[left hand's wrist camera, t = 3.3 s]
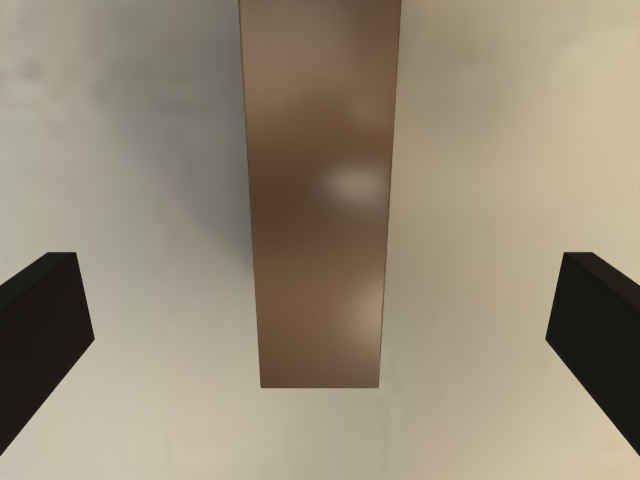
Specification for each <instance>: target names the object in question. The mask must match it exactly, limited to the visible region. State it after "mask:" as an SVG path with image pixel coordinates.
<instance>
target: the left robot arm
mask: <svg viewBox="0 0 640 480" xmlns="http://www.w3.org/2000/svg"><path fill="white" fill-rule="evenodd" d="M94 340H95V338H94V333H93V329H92V324H91V319H90V315H89V310H88V305H87V301H86V296H85V291H84V287H83V282H82V278H81V273H80V268H79V264H78V259H77V254H76V252H47V253H46V254H44V255H43V256H42V257H40V258H39V259H37V260H36V261H35V262H33V263H32V264H30V265H29V266H27V267H26V268H25V269H23V270H22V271H20V272H19V273H17V274H16V275H15V276H13V277H12V278H10V279H9V280H7V281H6V282H5V283H3V284H2V285H0V456H1V455H2V453H3V452H4V451H5V450H6V449H7V447H8V446H9V445H10V444H11V442H12V441H13V440H14V439H15V437H16V436H17V435H18V434H19V432H20V431H21V430H22V429H23V428H24V426H25V425H26V424H27V423H28V421H29V420H30V419H31V418H32V416H33V415H34V414H35V413H36V411H37V410H38V409H39V408H40V406H41V405H42V404H43V403H44V402H45V400H46V399H47V398H48V397H49V395H50V394H51V393H52V392H53V390H54V389H55V388H56V387H57V385H58V384H59V383H60V382H61V381H62V379H63V378H64V377H65V376H66V374H67V373H68V372H69V371H70V369H71V368H72V367H73V366H74V364H75V363H76V362H77V361H78V359H79V358H80V357H81V356H82V355H83V353H84V352H85V351H86V350H87V348H88V347H89V346H90V345H91V343H92V342H93V341H94ZM545 340H546V341H547V342H548V343H549V345H550V346H551V347H552V348H553V350H554V351H555V352H556V353H557V355H558V356H559V357H560V358H561V359H562V361H563V362H564V363H565V364H566V366H567V367H568V368H569V369H570V371H571V372H572V373H573V374H574V376H575V377H576V378H577V379H578V381H579V382H580V383H581V384H582V385H583V387H584V388H585V389H586V390H587V392H588V393H589V394H590V395H591V397H592V398H593V399H594V400H595V402H596V403H597V404H598V405H599V406H600V408H601V409H602V410H603V411H604V413H605V414H606V415H607V416H608V418H609V419H610V420H611V421H612V423H613V424H614V425H615V426H616V428H617V429H618V430H619V431H620V432H621V434H622V435H623V436H624V437H625V439H626V440H627V441H628V442H629V444H630V445H631V446H632V447H633V449H634V450H635V451H636V452H637V453H638V455H639V456H640V285H638V284H637V283H635V282H634V281H633V280H631V279H630V278H628V277H627V276H625V275H624V274H623V273H621V272H620V271H618V270H617V269H615V268H614V267H613V266H611V265H610V264H608V263H607V262H605V261H604V260H603V259H601V258H600V257H598V256H597V255H596V254H594V253H593V252H564V254H563V259H562V264H561V268H560V273H559V278H558V282H557V287H556V291H555V296H554V301H553V305H552V310H551V315H550V319H549V324H548V329H547V333H546V338H545Z"/></svg>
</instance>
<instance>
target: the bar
mask: <svg viewBox="0 0 640 480" xmlns="http://www.w3.org/2000/svg"><path fill="white" fill-rule="evenodd" d="M238 4H239V22H240V39H241V56H242V73H243V91H244V108H245V125H246V143H247V160H248V177H249V195H250V212H251V229H252V246H253V264H254V281H255V298H256V316H257V333H258V350H259V368H260V385H261V388H378V387H379V373H380V356H381V339H382V322H383V305H384V288H385V271H386V254H387V237H388V220H389V203H390V186H391V169H392V152H393V135H394V118H395V101H396V84H397V67H398V50H399V33H400V16H401V0H238Z"/></svg>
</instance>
